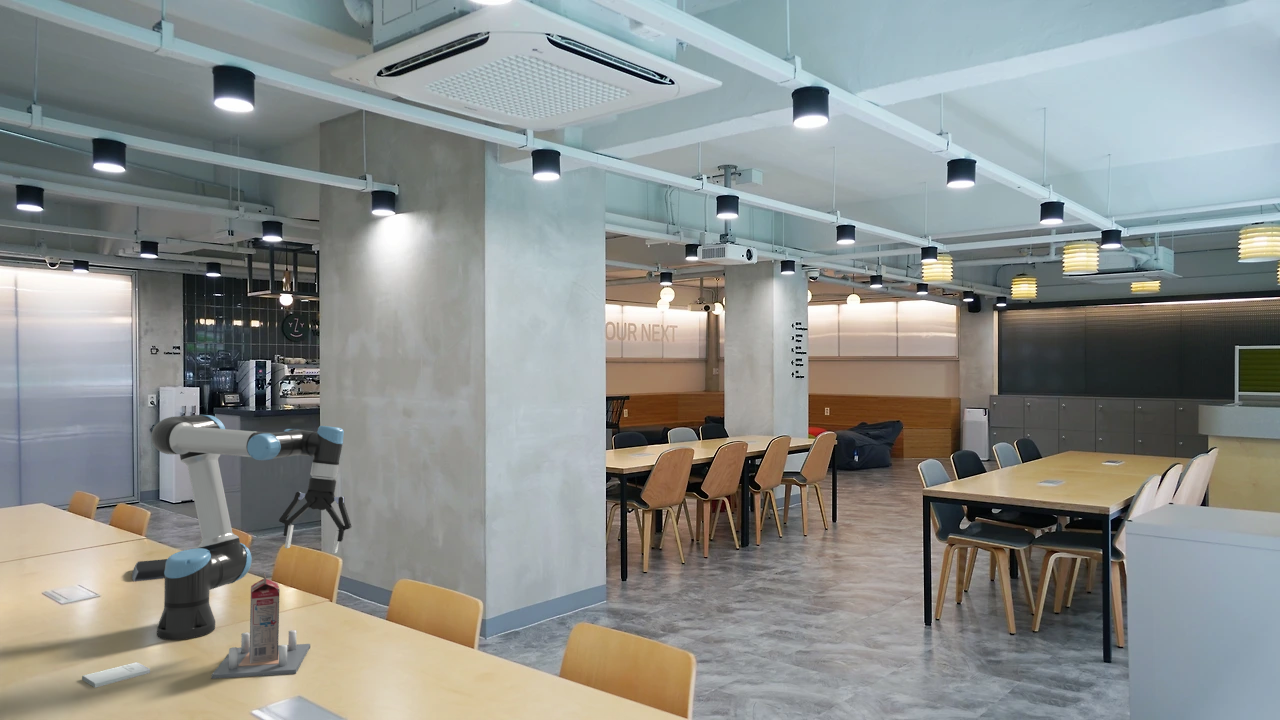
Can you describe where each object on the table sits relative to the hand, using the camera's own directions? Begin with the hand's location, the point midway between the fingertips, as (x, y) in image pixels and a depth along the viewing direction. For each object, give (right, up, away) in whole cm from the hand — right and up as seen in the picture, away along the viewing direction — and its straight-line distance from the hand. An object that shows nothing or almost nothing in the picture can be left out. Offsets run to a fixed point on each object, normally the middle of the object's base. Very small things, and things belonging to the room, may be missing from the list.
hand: (311, 550), depth 237 cm
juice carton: (-4, -24, -22) cm, 33 cm away
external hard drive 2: (-36, -25, -33) cm, 55 cm away
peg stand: (-4, -25, -22) cm, 33 cm away
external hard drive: (-87, -25, +67) cm, 113 cm away
